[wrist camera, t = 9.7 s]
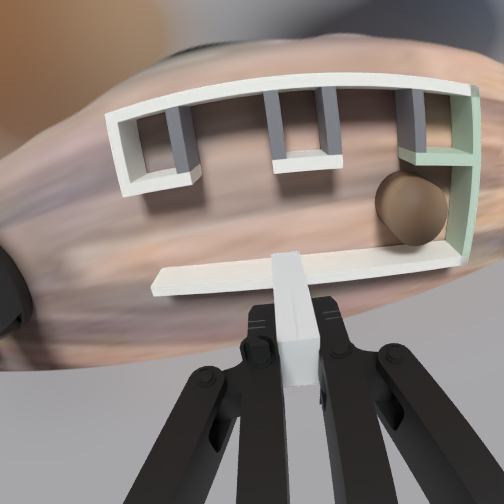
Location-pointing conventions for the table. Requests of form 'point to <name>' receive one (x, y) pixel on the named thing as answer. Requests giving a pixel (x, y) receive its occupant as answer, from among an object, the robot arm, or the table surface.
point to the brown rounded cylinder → (411, 207)
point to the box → (327, 157)
